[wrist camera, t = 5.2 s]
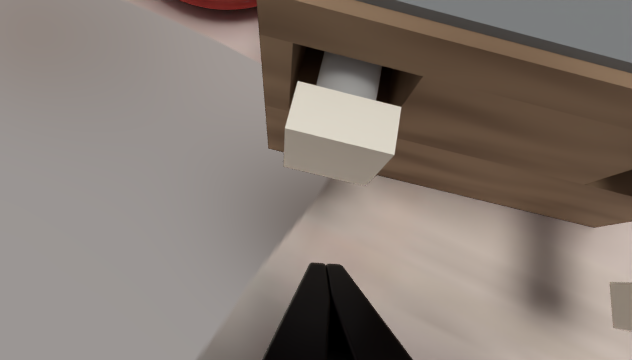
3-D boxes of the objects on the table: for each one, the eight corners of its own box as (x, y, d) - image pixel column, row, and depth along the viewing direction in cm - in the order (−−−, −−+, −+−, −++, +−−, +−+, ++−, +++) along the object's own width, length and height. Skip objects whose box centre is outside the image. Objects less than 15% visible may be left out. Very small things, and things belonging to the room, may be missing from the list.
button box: (594, 227, 18) (940, 169, 9) (268, 148, 17) (255, -11, 8) (586, 107, 21) (846, -39, 11) (301, 34, 20) (321, -191, 10)
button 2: (365, 186, 12) (394, 155, 9) (283, 166, 12) (284, 128, 9) (397, -2, 15) (427, -73, 12) (332, -19, 15) (346, -95, 12)
